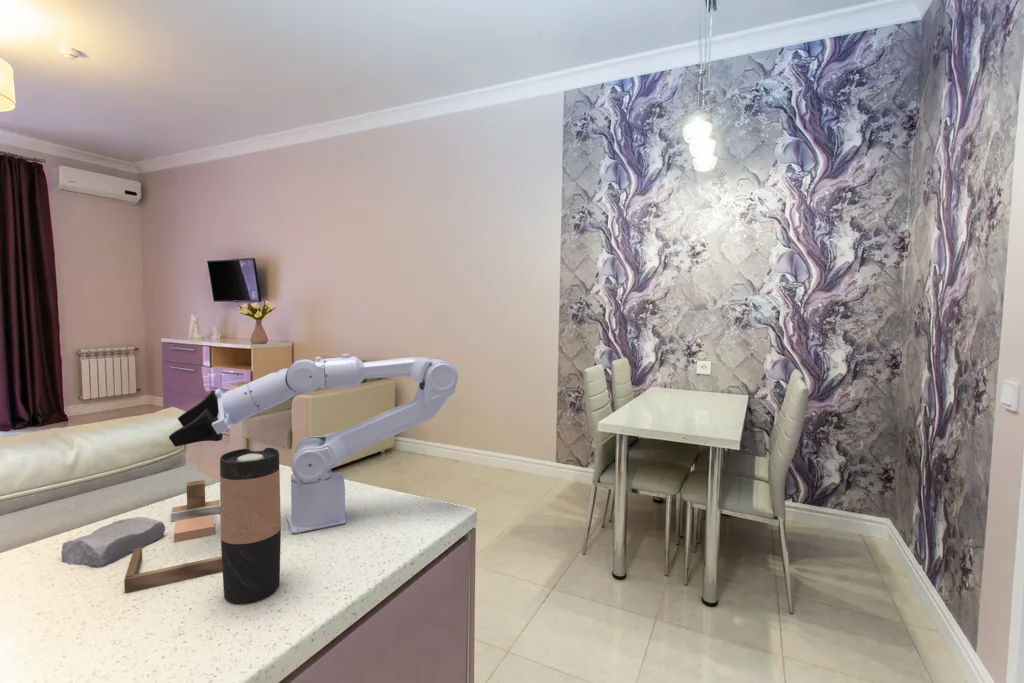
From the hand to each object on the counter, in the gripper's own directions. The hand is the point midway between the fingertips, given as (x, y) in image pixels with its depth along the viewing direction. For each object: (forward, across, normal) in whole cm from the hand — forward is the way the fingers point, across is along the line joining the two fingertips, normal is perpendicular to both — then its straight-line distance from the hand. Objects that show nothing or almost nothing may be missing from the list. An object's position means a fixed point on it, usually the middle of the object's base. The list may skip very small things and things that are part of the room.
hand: (176, 431), depth 86 cm
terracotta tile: (+6, +2, +18) cm, 20 cm away
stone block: (+17, +4, +13) cm, 22 cm away
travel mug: (-6, +27, +18) cm, 33 cm away
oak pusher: (+8, -7, +19) cm, 22 cm away
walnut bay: (+3, +14, +16) cm, 22 cm away
